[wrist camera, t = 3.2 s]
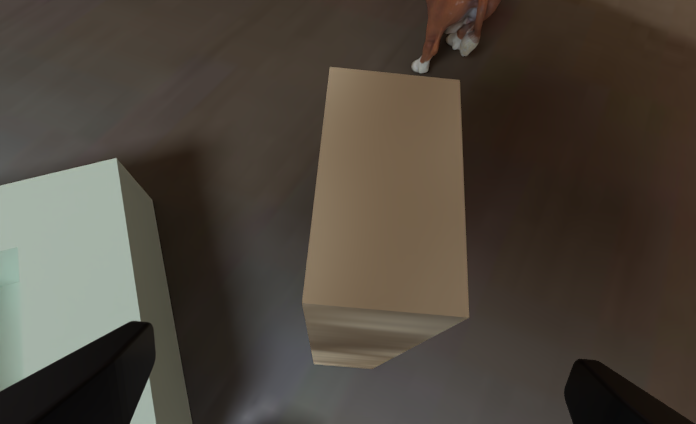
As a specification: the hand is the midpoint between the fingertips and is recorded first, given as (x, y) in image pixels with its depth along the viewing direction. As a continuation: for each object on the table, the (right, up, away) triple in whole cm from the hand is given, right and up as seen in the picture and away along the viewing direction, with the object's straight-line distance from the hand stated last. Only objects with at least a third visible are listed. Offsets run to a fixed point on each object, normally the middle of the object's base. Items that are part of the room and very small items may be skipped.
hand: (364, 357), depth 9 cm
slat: (0, -2, +10) cm, 10 cm away
